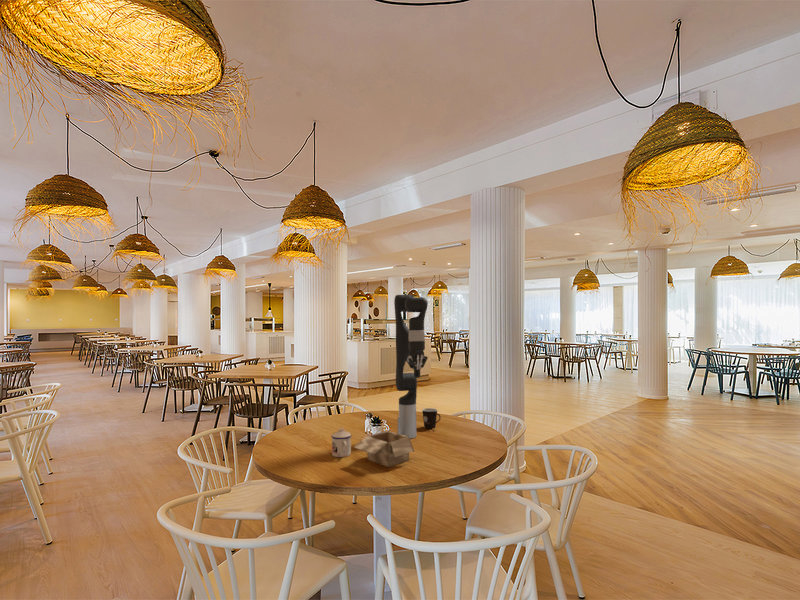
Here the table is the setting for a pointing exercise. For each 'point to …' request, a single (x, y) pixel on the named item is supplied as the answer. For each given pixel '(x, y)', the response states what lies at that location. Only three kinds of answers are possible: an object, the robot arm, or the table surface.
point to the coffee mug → (430, 417)
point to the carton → (391, 449)
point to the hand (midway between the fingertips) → (417, 377)
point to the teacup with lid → (341, 443)
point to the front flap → (370, 445)
